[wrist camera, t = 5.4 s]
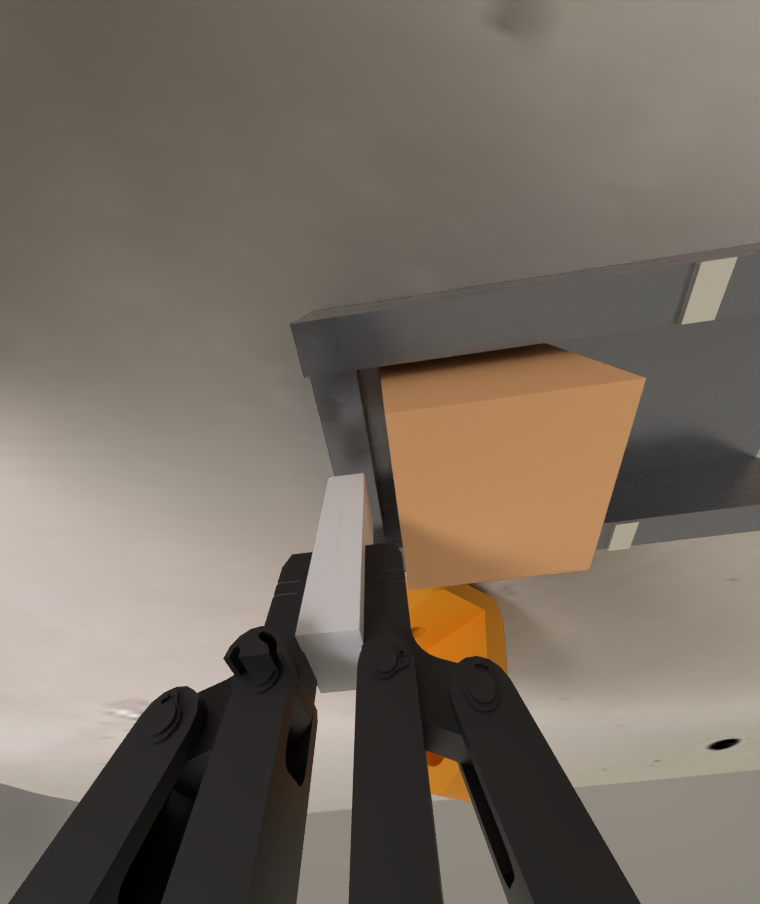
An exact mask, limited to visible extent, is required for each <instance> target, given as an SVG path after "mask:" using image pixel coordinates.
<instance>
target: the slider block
mask: <svg viewBox="0 0 760 904" xmlns="http://www.w3.org/2000/svg"><path fill="white" fill-rule="evenodd" d="M379 370H380V378H381V386H382V395H383V403H384V412H385V419H386V427H387V434H388V441H389V449H390V456H391V463H392V471H393V478H394V485H395V493H396V500H397V507H398V514H399V522H400V529H401V536H402V544H403V551H404V558H405V566H406V573H407V580H408V588H409V591H410V590H418V589H427V588H436V587H444V586H453V585H462V584H470V583H479V582H488V581H496V580H505V579H513V578H522V577H531V576H539V575H548V574H557V573H565V572H574V571H583V570H590V566H591V563H592V560H593V556H594V553H595V550H596V546H597V543H598V539H599V536H600V533H601V529H602V526H603V523H604V519H605V516H606V512H607V509H608V506H609V502H610V499H611V495H612V492H613V489H614V485H615V482H616V479H617V475H618V472H619V468H620V465H621V462H622V458H623V455H624V452H625V448H626V445H627V441H628V438H629V435H630V431H631V428H632V425H633V421H634V418H635V414H636V411H637V408H638V404H639V401H640V397H641V394H642V391H643V387H644V384H645V381H646V378H645V377H642V376H639V375H636V374H633V373H630V372H627V371H624V370H622V369H619V368H616V367H613V366H610V365H607V364H604V363H602V362H599V361H596V360H593V359H590V358H587V357H584V356H582V355H579V354H576V353H573V352H570V351H567V350H564V349H561V348H559V347H556V346H553V345H550V344H547V343H541V344H534V345H527V346H520V347H513V348H507V349H500V350H493V351H486V352H479V353H472V354H465V355H458V356H451V357H444V358H437V359H430V360H423V361H416V362H409V363H402V364H395V365H388V366H381V367H379Z"/></svg>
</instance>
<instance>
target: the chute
mask: <svg viewBox="0 0 760 904" xmlns="http://www.w3.org/2000/svg"><path fill="white" fill-rule="evenodd" d="M290 325H291V329H292V333H293V337H294V341H295V345H296V348H297V352H298V356H299V360H300V364H301V368H302V372H303V375H304V378H305V377H310V380H311V384H312V388H313V392H314V396H315V400H316V404H317V408H318V412H319V416H320V420H321V424H322V428H323V432H324V436H325V440H326V444H327V448H328V452H329V456H330V460H331V464H332V468H333V472H334V476H343V475H351V474H359V473H364V475H365V481H366V486H367V492H368V497H369V503H370V508H371V514H372V519H373V544H381V543H390V542H395V544H396V545H397V547H398V548H399V550H400V551H401V553H402V558H403V565H404V572H406V566H405V558H404V551H403V544H402V536H401V529H400V522H399V514H398V507H397V500H396V493H395V485H394V478H393V471H392V463H391V456H390V449H389V441H388V434H387V427H386V419H385V412H384V403H383V395H382V386H381V378H380V370H379V367H381V366H388V365H395V364H402V363H409V362H416V361H423V360H430V359H437V358H444V357H451V356H458V355H465V354H472V353H479V352H486V351H493V350H500V349H507V348H513V347H520V346H527V345H534V344H541V343H547V344H550V345H553V346H556V347H559V348H561V349H564V350H567V351H570V352H573V353H576V354H579V355H582V356H584V357H587V358H590V359H593V360H596V361H599V362H602V363H604V364H607V365H610V366H613V367H616V368H619V369H622V370H624V371H627V372H630V373H633V374H636V375H639V376H642V377H645V378H646V381H645V384H644V387H643V391H642V394H641V397H640V401H639V404H638V408H637V411H636V414H635V418H634V421H633V425H632V428H631V431H630V435H629V438H628V441H627V445H626V448H625V452H624V455H623V458H622V462H621V465H620V468H619V472H618V475H617V479H616V482H615V485H614V489H613V492H612V495H611V499H610V502H609V506H608V509H607V512H606V516H605V519H604V523H603V526H602V529H601V533H600V536H599V539H598V543H597V546H596V550H597V549H606V550H607V551H614V550H622V549H629V548H630V546H631V545H639V544H648V543H656V542H665V541H673V540H682V539H690V538H699V537H707V536H716V535H724V534H733V533H741V532H750V531H758V530H760V459H759V458H757V457H755V456H756V454H757V452H758V451H759V449H760V243H758V244H751V245H745V246H738V247H732V248H725V249H719V250H712V251H705V252H699V253H692V254H686V255H679V256H673V257H666V258H659V259H653V260H646V261H640V262H633V263H627V264H620V265H613V266H607V267H600V268H594V269H587V270H581V271H574V272H567V273H561V274H554V275H548V276H541V277H535V278H528V279H521V280H515V281H508V282H502V283H495V284H489V285H482V286H475V287H469V288H462V289H456V290H449V291H443V292H436V293H429V294H423V295H416V296H410V297H403V298H397V299H390V300H383V301H377V302H370V303H364V304H357V305H350V306H344V307H337V308H331V309H324V310H318V311H313V312H311V313H309V314H307V315H306V316H304V317H302V318H300V319H298V320H296V321H295V322H293V323H291V324H290Z"/></svg>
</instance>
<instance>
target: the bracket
mask: <svg viewBox="0 0 760 904" xmlns="http://www.w3.org/2000/svg"><path fill="white" fill-rule="evenodd" d="M406 589H407V597H408V606H409V614H410V622H411V630H412V635H413V637H414V638H415V640H416V642H417V643H418V645H419V646H420V647H421V648H422V649H423V650H424V651H426V652H427V653H429V654H430V655H433V656H435V657H438V658H441V659H445V660H448V661H452V662H456V663H458V662H460V661H461V660H463V659H464V658H466V657H473V656H479V657H483V658H487V659H490V660H491V661H493V662H494V663H496V664H497V665H499V666H500V667H501V668H502V669H503V670H504V672H505V673H506V674H507V663H506V651H505V639H504V627H503V618H502V616H501V613H500V611H499V608H498V606H497V603H496V601H495V599H494V598H492V597H490V596H488V595H486V594H485V593H483V592H481V591H479V590H477V589H475V588H473V587H472V586H470V585H468V584H462V585H453V586H444V587H436V588H427V589H418V590H410V591H409V588H408V580H407V581H406ZM426 756H427V765H428V773H429V782H430V790H431V794H435V795H439V796H444V797H448V798H453V799H457V800H462V801H467V802H471V799H470V796H469V793H468V791H467V788H466V785H465V782H464V780H463V777H462V774H461V771H460V769H459V766H458V763H457V762H456V761H453V760H450V759H448V758H445V757H442V756H440V755H437V754H434V753H432V752H429V751H426ZM471 803H472V802H471Z"/></svg>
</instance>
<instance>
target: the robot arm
mask: <svg viewBox="0 0 760 904" xmlns="http://www.w3.org/2000/svg"><path fill="white" fill-rule="evenodd" d="M223 659H224V660H225V662H226V663H227V664H228V666H229V667H230V669H231V670H232V672H233V673H234V676H232V677H230V678H228V679H227V680H225V681H223V682H220V683H218V684H216V685H214V686H212V687H209V688H207V689H205V690H203V691H201V692H198V693H196V692H195V691H194V690H193V689H191V688H189V687H188V686H184V687H176V688H173V689H171V690H169V691H167V692H165V693H163V694H162V695H161V696H159V697H158V698H157V699H156V700H154V701H153V702H152V703H151V704H150V705H149V707H148V708H147V709H146V710H145V711H144V712H143V714H142V715H141V716H140V717H139V719H138V720H137V722H136V723H135V724H134V726H133V727H132V729H131V730H130V732H129V733H128V734H127V736H126V737H125V739H124V740H123V742H122V743H121V744H120V746H119V747H118V749H117V750H116V751H115V753H114V754H113V756H112V757H111V759H110V760H109V761H108V763H107V764H106V766H105V767H104V768H103V770H102V771H101V773H100V774H99V776H98V777H97V778H96V780H95V781H94V783H93V784H92V786H91V787H90V788H89V790H88V791H87V793H86V794H85V795H84V797H83V798H82V800H81V801H80V803H79V804H78V806H77V807H76V808H75V810H74V811H73V812H72V814H71V815H70V817H69V818H68V820H67V821H66V822H65V824H64V825H63V827H62V828H61V830H60V831H59V832H58V834H57V835H56V837H55V838H54V839H53V841H52V842H51V844H50V845H49V847H48V848H47V849H46V851H45V852H44V854H43V855H42V856H41V858H40V859H39V861H38V862H37V864H36V865H35V867H34V868H33V869H32V871H31V872H30V874H29V875H28V877H27V878H26V880H25V881H24V882H23V884H22V885H21V887H20V888H19V889H18V891H17V892H16V893H15V895H14V896H13V898H12V899H11V900H10V902H9V903H8V904H296V901H297V893H298V884H299V875H300V867H301V859H302V850H303V842H304V841H303V840H304V833H305V824H306V816H307V808H308V799H309V791H310V782H311V774H312V765H313V756H314V748H315V739H316V731H317V722H318V720H317V709H316V707H315V705H314V702H315V694H316V687H317V686H318V688H319V690H320V692H321V693H327V692H337V691H347V690H356V714H355V741H354V769H353V797H352V826H351V853H350V882H349V904H444V901H443V893H442V884H441V875H440V867H439V858H438V850H437V842H436V833H435V825H434V816H433V807H432V799H431V790H430V782H429V773H428V765H427V756H426V751H429V752H432V753H434V754H437V755H440V756H442V757H445V758H448V759H450V760H453V761H456V762H457V763H458V766H459V769H460V771H461V774H462V777H463V780H464V782H465V785H466V788H467V791H468V793H469V796H470V799H471V802H472V804H473V807H474V810H475V813H476V815H477V818H478V821H479V824H480V826H481V829H482V832H483V835H484V837H485V840H486V843H487V846H488V848H489V851H490V854H491V857H492V859H493V862H494V865H495V868H496V870H497V873H498V876H499V879H500V881H501V884H502V887H503V889H504V892H505V895H506V898H507V901H508V903H509V904H640V902H639V900H638V898H637V896H636V895H635V893H634V891H633V890H632V888H631V886H630V885H629V883H628V881H627V879H626V878H625V876H624V874H623V872H622V871H621V869H620V867H619V865H618V864H617V862H616V860H615V859H614V857H613V855H612V854H611V852H610V850H609V848H608V846H607V845H606V843H605V842H604V840H603V838H602V836H601V834H600V833H599V831H598V829H597V828H596V826H595V824H594V822H593V821H592V819H591V817H590V815H589V814H588V812H587V810H586V809H585V807H584V805H583V803H582V802H581V800H580V798H579V797H578V795H577V793H576V792H575V790H574V788H573V786H572V784H571V783H570V781H569V779H568V778H567V776H566V774H565V772H564V771H563V769H562V767H561V766H560V764H559V762H558V760H557V759H556V757H555V755H554V753H553V752H552V750H551V748H550V747H549V745H548V743H547V741H546V740H545V738H544V736H543V735H542V733H541V731H540V729H539V728H538V726H537V724H536V722H535V721H534V719H533V717H532V716H531V714H530V712H529V710H528V709H527V707H526V705H525V704H524V702H523V700H522V698H521V697H520V695H519V693H518V691H517V690H516V688H515V686H514V685H513V683H512V681H511V679H510V678H509V677H508V675H507V674H506V673H505V672H504V670H503V669H502V668H501V667H500V666H499V665H497V664H496V663H494V662H493V661H491V660H490V659H487V658H483V657H479V656H473V657H466V658H464V659H463V660H461V661H460V662H458V663H456V662H452V661H448V660H445V659H441V658H438V657H435V656H433V655H430V654H429V653H427V652H426V651H424V650H423V649H422V648H421V647H420V646H419V645H418V643H417V642H416V640H415V638H414V637H413V635H412V630H411V622H410V614H409V606H408V597H407V589H406V581H405V573H404V565H403V558H402V553H401V551H400V550H399V548H398V547H397V545H396V544H395V542H390V543H381V544H373V519H372V514H371V508H370V503H369V497H368V492H367V486H366V481H365V475H364V473H359V474H351V475H343V476H335V477H329V478H328V482H327V487H326V492H325V497H324V501H323V506H322V511H321V515H320V520H319V525H318V529H317V534H316V539H315V544H314V548H313V552H310V553H301V554H293V555H291V557H290V558H289V559H288V561H287V562H286V563H285V565H284V566H283V567H282V570H281V574H280V577H279V580H278V585H277V587H276V590H275V593H274V597H273V600H272V603H271V606H270V609H269V613H268V616H267V619H266V622H265V626H260V627H257V628H253V629H250V630H249V631H247V632H246V633H244V634H243V635H241V636H240V637H239V638H238V639H237V640H236V641H235V642H234V643H233V644H232V645H231V646H230V648H229V649H228V651H227V653H226V655H225V657H224V658H223Z"/></svg>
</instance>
